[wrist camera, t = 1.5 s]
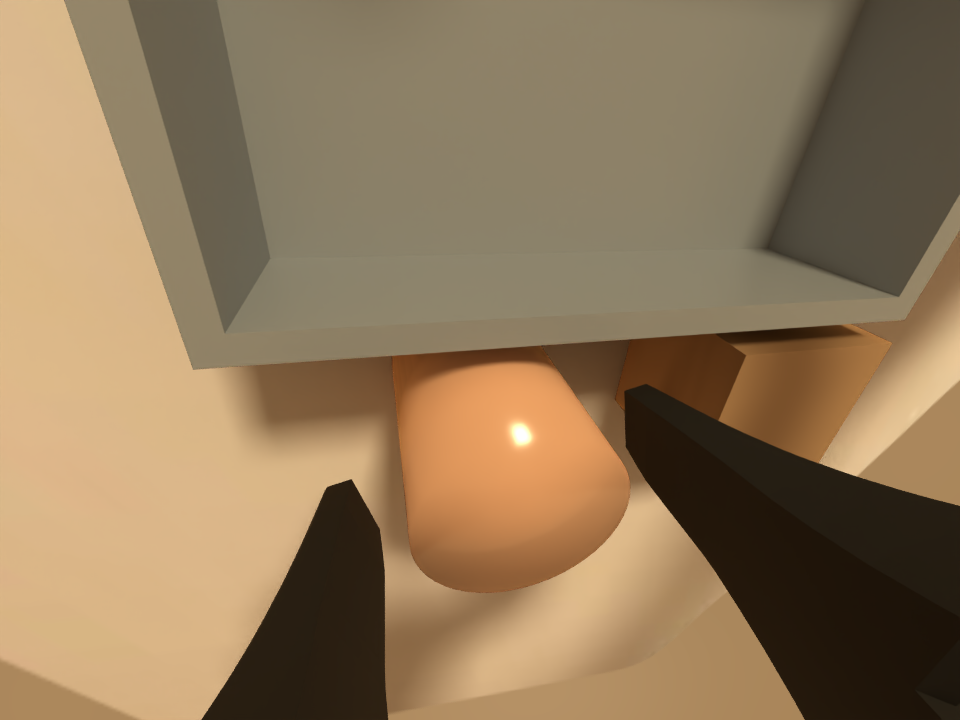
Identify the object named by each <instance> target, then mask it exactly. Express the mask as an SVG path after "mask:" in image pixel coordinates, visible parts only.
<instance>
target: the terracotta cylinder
mask: <svg viewBox="0 0 960 720" xmlns="http://www.w3.org/2000/svg"><path fill="white" fill-rule="evenodd" d="M392 370H393V380H394V390H395V401H396V411H397V421H398V431H399V442H400V452H401V462H402V473H403V483H404V493H405V504H406V514H407V524H408V534H409V544H410V550H411V554H412V556H413V559H414V561H415V563H416V564H417V566H418V567H419V568H420V570H421V571H422V572H423V573H424V574H425V575H426V576H428V577H429V578H431V579H432V580H434V581H435V582H437V583H439V584H441V585H444V586H446V587H449V588H452V589H456V590H461V591H466V592H477V593H491V592H503V591H509V590H515V589H519V588H523V587H527V586H531V585H534V584H537V583H540V582H543V581H545V580H548V579H550V578H553V577H555V576H557V575H559V574H561V573H563V572H565V571H567V570H568V569H570V568H572V567H574V566H575V565H577V564H578V563H580V562H581V561H583V560H584V559H586V558H587V557H588V556H590V555H591V554H592V553H593V552H595V551H596V550H597V549H598V548H599V547H600V546H601V545H602V544H603V543H604V542H605V541H606V540H607V539H608V538H609V537H610V536H611V534H612V533H613V532H614V530H615V529H616V528H617V526H618V525H619V523H620V521H621V519H622V518H623V516H624V513H625V511H626V509H627V506H628V502H629V498H630V480H629V476H628V473H627V470H626V468H625V466H624V464H623V463H622V461H621V460H620V458H619V457H618V455H617V454H616V453H615V451H614V450H613V448H612V447H611V445H610V444H609V443H608V441H607V440H606V438H605V437H604V435H603V434H602V433H601V431H600V430H599V428H598V427H597V425H596V424H595V423H594V421H593V420H592V418H591V417H590V415H589V414H588V413H587V411H586V410H585V408H584V407H583V405H582V404H581V403H580V401H579V400H578V398H577V397H576V395H575V394H574V393H573V391H572V390H571V388H570V387H569V386H568V384H567V383H566V381H565V380H564V378H563V377H562V376H561V374H560V373H559V371H558V370H557V368H556V367H555V366H554V364H553V363H552V361H551V360H550V358H549V357H548V356H547V354H546V353H545V351H544V350H543V348H542V347H541V346H526V347H511V348H497V349H483V350H468V351H454V352H440V353H425V354H411V355H396V356H392Z"/></svg>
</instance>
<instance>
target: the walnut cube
mask: <svg viewBox="0 0 960 720" xmlns="http://www.w3.org/2000/svg"><path fill="white" fill-rule="evenodd" d="M891 345H892V343H891V342H889V341H887V340H885V339H883V338H880V337H878V336H876V335H874V334H872V333H870V332H868V331H865V330H863V329H861V328H859V327H857V326H855V325H852V324H842V325H828V326H814V327H799V328H785V329H770V330H756V331H742V332H727V333H713V334H698V335H684V336H670V337H655V338H641V339H631V340H630V343H629V347H628V351H627V355H626V359H625V363H624V367H623V370H622V374H621V378H620V382H619V386H618V390H617V393H616V397H615V400H616V402H617V403H618V404H619V405H620V407H621V408H622V409H623V410H624V411H625V399H624V391H625V390H628V389H631V388H635V387H638V386H641V385H644V384H648V385H650V386H652V387H654V388H656V389H658V390H660V391H662V392H663V393H665V394H667V395H669V396H671V397H673V398H675V399H677V400H679V401H681V402H683V403H684V404H686V405H688V406H690V407H692V408H694V409H696V410H698V411H700V412H702V413H704V414H706V415H708V416H710V417H712V418H714V419H716V420H718V421H720V422H722V423H724V424H726V425H728V426H730V427H733V428H735V429H737V430H739V431H741V432H743V433H745V434H748V435H750V436H752V437H754V438H757V439H759V440H761V441H764V442H766V443H768V444H771V445H773V446H775V447H778V448H780V449H782V450H785V451H787V452H790V453H792V454H795V455H797V456H800V457H803V458H805V459H808V460H811V461H814V462H816V463H819V461H820V459H821V458H822V456H823V455H824V453H825V451H826V450H827V448H828V447H829V445H830V443H831V442H832V440H833V438H834V437H835V435H836V434H837V432H838V430H839V429H840V427H841V426H842V424H843V422H844V421H845V419H846V417H847V416H848V414H849V413H850V411H851V409H852V408H853V406H854V405H855V403H856V401H857V400H858V398H859V396H860V395H861V393H862V392H863V390H864V388H865V387H866V385H867V384H868V382H869V380H870V379H871V377H872V375H873V374H874V372H875V371H876V369H877V367H878V366H879V364H880V363H881V361H882V359H883V358H884V356H885V354H886V353H887V351H888V350H889V348H890V346H891Z"/></svg>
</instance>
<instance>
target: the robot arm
mask: <svg viewBox="0 0 960 720" xmlns="http://www.w3.org/2000/svg"><path fill="white" fill-rule="evenodd" d="M624 399H625V434H626V448H627V450H628V451H629V453H630V455H631V457H632V458H633V460H634V462H635V463H636V465H637V467H638V468H639V470H640V472H641V473H642V475H643V477H644V478H645V480H646V481H647V483H648V484H649V485H650V487H651V488H652V489H653V490H654V492H655V493H656V494H657V496H658V497H659V498H660V500H661V501H662V502H663V503H664V505H665V506H666V507H667V509H668V510H669V511H670V513H671V514H672V515H673V516H674V518H675V519H676V520H677V521H678V523H679V524H680V525H681V527H682V528H683V529H684V530H685V532H686V533H687V534H688V536H689V537H690V538H691V539H692V541H693V542H694V543H695V545H696V546H697V547H698V548H699V550H700V551H701V552H702V554H703V555H704V556H705V558H706V559H707V561H708V562H709V563H710V565H711V566H712V568H713V569H714V570H715V572H716V573H717V575H718V576H719V578H720V580H721V581H722V583H723V584H724V586H725V587H726V589H727V590H728V592H729V594H730V595H731V597H732V598H733V600H734V601H735V603H736V604H737V606H738V608H739V609H740V610H741V612H742V614H743V616H744V617H745V619H746V621H747V622H748V624H749V625H750V627H751V629H752V630H753V632H754V633H755V635H756V637H757V638H758V640H759V642H760V643H761V645H762V647H763V648H764V650H765V651H766V653H767V655H768V657H769V658H770V660H771V662H772V663H773V665H774V667H775V669H776V670H777V672H778V673H779V675H780V677H781V679H782V680H783V682H784V684H785V685H786V687H787V689H788V691H789V692H790V694H791V696H792V698H793V699H794V701H795V703H796V705H797V706H798V708H799V710H800V712H801V713H802V715H803V717H804V719H805V720H960V506H958V505H954V504H950V503H946V502H942V501H938V500H934V499H930V498H927V497H923V496H919V495H916V494H912V493H909V492H905V491H902V490H898V489H895V488H892V487H889V486H885V485H882V484H879V483H876V482H872V481H869V480H866V479H862V478H859V477H856V476H853V475H850V474H847V473H844V472H841V471H838V470H835V469H833V468H830V467H827V466H824V465H822V464H819V463H816V462H814V461H811V460H808V459H805V458H803V457H800V456H797V455H795V454H792V453H790V452H787V451H785V450H782V449H780V448H778V447H775V446H773V445H771V444H768V443H766V442H764V441H761V440H759V439H757V438H754V437H752V436H750V435H748V434H745V433H743V432H741V431H739V430H737V429H735V428H733V427H730V426H728V425H726V424H724V423H722V422H720V421H718V420H716V419H714V418H712V417H710V416H708V415H706V414H704V413H702V412H700V411H698V410H696V409H694V408H692V407H690V406H688V405H686V404H684V403H683V402H681V401H679V400H677V399H675V398H673V397H671V396H669V395H667V394H665V393H663V392H662V391H660V390H658V389H656V388H654V387H652V386H650V385H648V384H644V385H641V386H638V387H635V388H631V389H628V390H625V391H624ZM202 720H388V713H387V702H386V690H385V569H384V560H383V551H382V543H381V535H380V529H379V527H378V525H377V523H376V522H375V520H374V518H373V516H372V515H371V513H370V511H369V509H368V507H367V506H366V504H365V502H364V500H363V499H362V497H361V495H360V493H359V492H358V490H357V488H356V486H355V484H354V483H353V481H352V479H351V480H347V481H344V482H341V483H338V484H335V485H332V486H329V487H327V488H326V490H325V492H324V494H323V496H322V499H321V501H320V503H319V506H318V508H317V510H316V512H315V515H314V517H313V519H312V522H311V524H310V526H309V528H308V531H307V533H306V535H305V537H304V540H303V542H302V544H301V546H300V548H299V550H298V552H297V554H296V557H295V559H294V561H293V563H292V565H291V567H290V569H289V571H288V573H287V575H286V577H285V579H284V581H283V583H282V585H281V587H280V589H279V591H278V593H277V595H276V597H275V599H274V601H273V602H272V604H271V606H270V608H269V610H268V612H267V614H266V616H265V618H264V619H263V621H262V623H261V625H260V627H259V628H258V630H257V632H256V634H255V635H254V637H253V639H252V641H251V642H250V644H249V646H248V648H247V649H246V651H245V653H244V654H243V656H242V658H241V659H240V661H239V662H238V664H237V666H236V667H235V669H234V671H233V672H232V674H231V676H230V677H229V679H228V680H227V682H226V683H225V685H224V686H223V688H222V689H221V691H220V693H219V694H218V696H217V697H216V699H215V700H214V702H213V703H212V705H211V706H210V708H209V709H208V711H207V712H206V714H205V715H204V717H203V718H202Z"/></svg>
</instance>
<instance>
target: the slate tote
mask: <svg viewBox="0 0 960 720" xmlns="http://www.w3.org/2000/svg"><path fill="white" fill-rule="evenodd" d="M64 1H65V4H66V7H67V10H68V13H69V16H70V19H71V21H72V24H73V27H74V30H75V33H76V36H77V39H78V41H79V44H80V47H81V50H82V53H83V56H84V59H85V62H86V64H87V67H88V70H89V73H90V76H91V79H92V82H93V84H94V87H95V90H96V93H97V96H98V99H99V102H100V104H101V107H102V110H103V113H104V116H105V119H106V122H107V125H108V127H109V130H110V133H111V136H112V139H113V142H114V145H115V147H116V150H117V153H118V156H119V159H120V162H121V165H122V167H123V170H124V173H125V176H126V179H127V182H128V185H129V188H130V190H131V193H132V196H133V199H134V202H135V205H136V208H137V210H138V213H139V216H140V219H141V222H142V225H143V228H144V230H145V233H146V236H147V239H148V242H149V245H150V248H151V251H152V253H153V256H154V259H155V262H156V265H157V268H158V271H159V273H160V276H161V279H162V282H163V285H164V288H165V291H166V293H167V296H168V299H169V302H170V305H171V308H172V311H173V314H174V316H175V319H176V322H177V325H178V328H179V331H180V334H181V336H182V339H183V342H184V345H185V348H186V351H187V354H188V356H189V359H190V362H191V365H192V368H193V370H195V369H209V368H224V367H238V366H252V365H267V364H281V363H296V362H310V361H324V360H339V359H353V358H368V357H382V356H396V355H411V354H425V353H440V352H454V351H468V350H483V349H497V348H511V347H526V346H540V345H555V344H569V343H583V342H598V341H612V340H627V339H641V338H655V337H670V336H684V335H698V334H713V333H727V332H742V331H756V330H770V329H785V328H799V327H814V326H828V325H842V324H857V323H871V322H885V321H900V320H905V319H906V317H907V315H908V314H909V312H910V311H911V309H912V307H913V306H914V304H915V302H916V301H917V299H918V298H919V296H920V294H921V293H922V291H923V289H924V288H925V286H926V285H927V283H928V281H929V280H930V278H931V276H932V275H933V273H934V271H935V270H936V268H937V267H938V265H939V263H940V262H941V260H942V258H943V257H944V255H945V254H946V252H947V250H948V249H949V247H950V245H951V244H952V242H953V241H954V239H955V237H956V236H957V234H958V232H959V231H960V0H64Z"/></svg>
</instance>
